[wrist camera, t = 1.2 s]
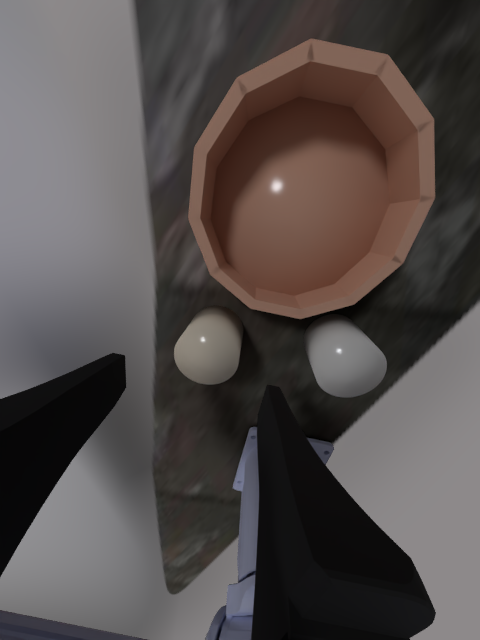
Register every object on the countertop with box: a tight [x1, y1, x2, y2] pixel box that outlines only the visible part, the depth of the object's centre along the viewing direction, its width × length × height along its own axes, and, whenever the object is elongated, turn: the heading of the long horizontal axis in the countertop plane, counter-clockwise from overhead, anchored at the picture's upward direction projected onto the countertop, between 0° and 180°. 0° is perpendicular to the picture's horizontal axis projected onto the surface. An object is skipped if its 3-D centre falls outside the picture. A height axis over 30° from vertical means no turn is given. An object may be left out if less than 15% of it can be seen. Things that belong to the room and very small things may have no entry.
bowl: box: [188, 39, 435, 319], centre depth 12 cm, size 11×11×3 cm
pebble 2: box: [303, 314, 387, 397], centre depth 15 cm, size 4×4×4 cm
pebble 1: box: [174, 305, 243, 385], centre depth 15 cm, size 4×4×4 cm
